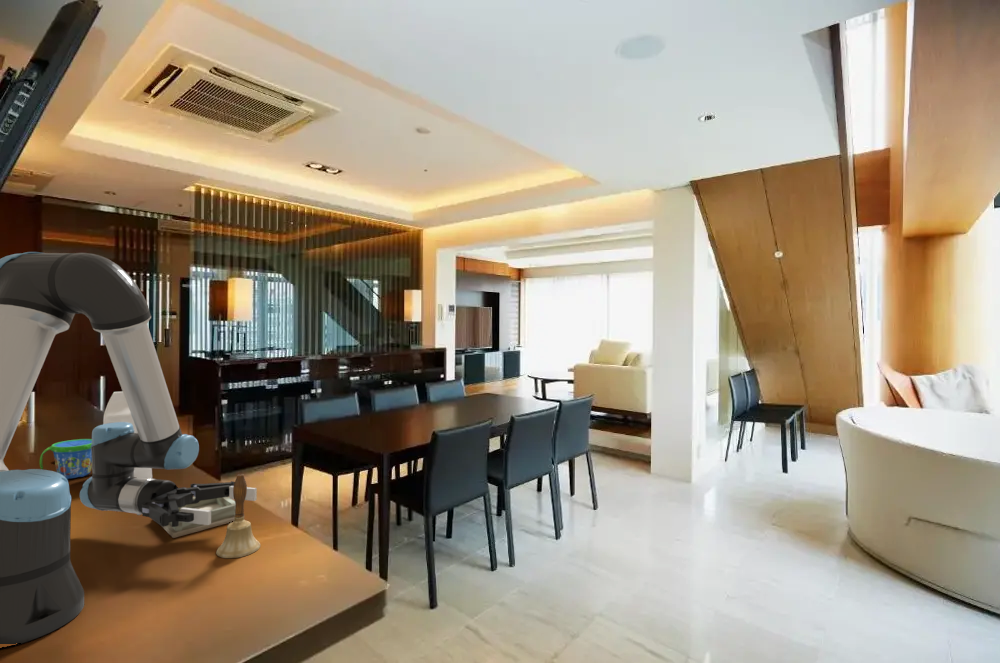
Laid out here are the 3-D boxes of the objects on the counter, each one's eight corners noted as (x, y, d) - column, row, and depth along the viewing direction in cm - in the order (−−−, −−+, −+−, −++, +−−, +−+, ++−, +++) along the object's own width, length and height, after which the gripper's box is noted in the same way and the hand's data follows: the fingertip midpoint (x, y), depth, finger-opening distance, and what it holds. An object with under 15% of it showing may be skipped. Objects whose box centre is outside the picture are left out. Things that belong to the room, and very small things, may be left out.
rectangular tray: (244, 518, 121) (244, 504, 121) (173, 538, 110) (173, 522, 110) (221, 502, 131) (221, 489, 131) (154, 519, 120) (154, 504, 120)
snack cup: (109, 467, 160) (108, 436, 159) (105, 476, 151) (105, 443, 151) (43, 475, 151) (43, 442, 151) (36, 485, 142) (35, 450, 142)
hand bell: (253, 537, 111) (253, 466, 111) (266, 550, 105) (266, 475, 105) (211, 548, 106) (211, 474, 105) (222, 563, 100) (222, 484, 99)
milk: (101, 486, 143) (100, 395, 142) (100, 475, 151) (100, 390, 151) (152, 478, 150) (152, 392, 150) (149, 468, 159) (148, 387, 158)
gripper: (194, 494, 123) (271, 501, 119) (94, 537, 99) (186, 548, 95) (194, 464, 123) (271, 470, 119) (94, 499, 98) (186, 509, 94)
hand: (234, 505), depth 107 cm, fingers open, 13 cm apart
